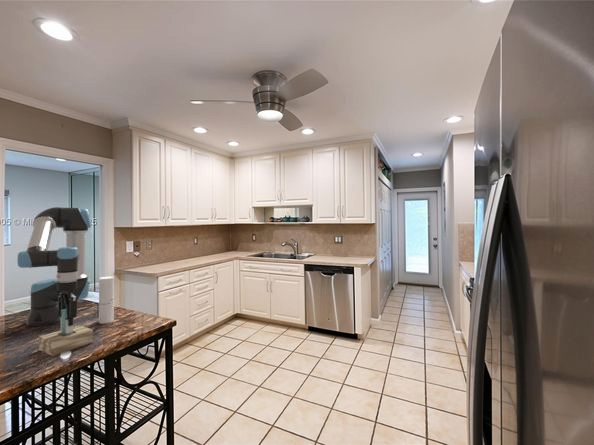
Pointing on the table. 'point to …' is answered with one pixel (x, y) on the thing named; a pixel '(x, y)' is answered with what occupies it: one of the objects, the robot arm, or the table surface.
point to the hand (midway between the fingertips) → (66, 331)
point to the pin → (64, 323)
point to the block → (65, 340)
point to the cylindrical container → (106, 299)
